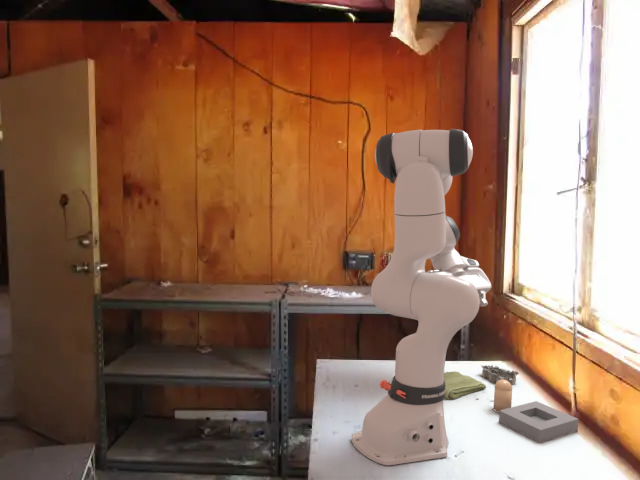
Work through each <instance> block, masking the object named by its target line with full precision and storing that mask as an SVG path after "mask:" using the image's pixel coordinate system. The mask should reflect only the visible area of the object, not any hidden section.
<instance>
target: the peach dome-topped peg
mask: <svg viewBox="0 0 640 480" xmlns="http://www.w3.org/2000/svg"><path fill="white" fill-rule="evenodd" d="M493 394H494V395H493V397H494V398H493V410H494V409H495V410H496V411H495V410H494V411H495V412H497V411H500V410H503V409H507V408H511V407H512V403H513V402H512V399H513V385H512V384H510V382H508V381H507V380H499V381H497V382H495V385H494V393H493Z"/></svg>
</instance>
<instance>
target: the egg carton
mask: <svg viewBox="0 0 640 480" xmlns="http://www.w3.org/2000/svg"><path fill="white" fill-rule="evenodd" d="M480 367H481V368H482V371H481V372H482V375H481V377H482V378H486V379H487V378H488V381H490V382H495V383H496V382H497V381H499V380H507V381H508V382H510V384H511V385H512V386H516V383H517V382H516V380H517V375H519V372H518V371H516V370H509V369H508V370H507V369H504V368H500V367H499V366H497V365H495V366H494V365H486V364H485V365H482V364H480Z"/></svg>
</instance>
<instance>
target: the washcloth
mask: <svg viewBox="0 0 640 480" xmlns="http://www.w3.org/2000/svg"><path fill="white" fill-rule="evenodd" d="M444 381H445V391H446V392H445V398H444V400H454V399H455V400H456V399H458V398H461V397H465V396H467V395H469V394H473V393H475V392H478V391H482V390H483V389H486V388H487V385H486V384H485V383H483V382H482V381H480V380H477V379H475V378H473V377H472V376H469V375H466V374H465V375H464V374H462V373H460V371H455V370H454V371H446V372H444Z"/></svg>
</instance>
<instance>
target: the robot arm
mask: <svg viewBox="0 0 640 480" xmlns="http://www.w3.org/2000/svg"><path fill="white" fill-rule="evenodd" d="M473 155H474V148H473V144H472V141H471V139H470V138H469V134H468V133H467V132H465V131H464V130H462V129H456V128H450V129H448V130H446V129H425V130H423V129H415V130H414V129H413V130H407V131H402V132H398V133H396V132H390V133H386V134H384V135H382V136H380V138H379V139H378V140H377V143H376V146H375V149H374V160H375V161H374V162H375V165H376V167H377V170H378V172H379V173H380V175H382V176H383V177H384V178H385V179H388V180H389V182H390V183H391V184H393V185H394V184H395V186H394V197H393V199H394V200H393V201H394V204H393V206H394V208H393V209H394V211H393V212H394V213H393V214H394V247H393V252H392V255H391V258H390V260H389V262H388V264H387V265H386V266H385V268H384V269H382V270H381V271H380V272H379V273H378V274H377V275H376V276H375V277H374V279H373V281H372V283H371V288H370V296H371V299H372V300H371V301H372V304H373V305H374V306H375V307H376V308H377V309H379V310H381V311H383V312H385V313H387V314H390V315H392V316H395V317H401V318H406V319H411V320H414V321H415V320H416V321H417V322H418V324H417V325H418V326H417V329H416V332H414V333H412V334H409V335H407V336H405V337H403V338H401V340H400V341H399V342H398V343H397V345H396V348H395V362H394V363H395V365H394V367H395V368H394V369H395V370H394V376H393V378H392V380H391V382H390V381H387V380H386V379H382V380H380V382H379V387H380V388H381V389H383V390H384V391H387V394H386V395H385V396H384V397H383V398H382V399H380V400H379V401H378V402H377V404H375V406H373V407H372V408H371V409H370V410H369V411H367V413H366V414H365V415H364V419H363V421H362V427H361V428H362V429H361V430H360V431H356V432H355V433H353V434H351V443H352V445H353V447H355V449H357V451H359V452H360V453H361V454H362V455H363V456H365V457H366V458H368V459H370V460H371V461H373V462H374V463H377V464H380V465H384V466H393V465H400V464H407V463H414V462H415V463H416V462H419V461H420V462H421V461H422V462H423V461H427V460H434V459H441V458H446V457H448V449H447V447H448V446H449V439H448V435H447V430H446V423H445V422H446V421H445V411H444V410H445V409H444V400H445V392H446V391H445V381H444V373H445V367H446V356H447V350H448V348H449V345H450V343H451V341H452V339H453V337H454V336H455V335H456V334H457V332H458V331H460V330H461V329H462V328H465V326H468V325H469V324H470V323H471V322H473V320H475V318H476V316H477V314H478V313H479V310H480V307H482V308H483V307H487V305H488V304H489V303H488V300H487V299H486V297H487V296H486V294H487V293H488V292H489V291H490V290H491V289H492V283H491V281H490V279H489V277H488V276H487V274H486V273H485V272H484V270H483V269H482V268H480V264H479V262H478V260H476V259H472V258H469V257H465V256H462V255H460V253H459V251H457V250H456V249H455V247H456V246H457V245H458V241H459V239H460V237H461V232H460V229H459V227H458V225H457V224H456V222H455V220H454V219H453V218H452V217H450V216H448V215H447V214H446V198H445V196H446V195H447V194H448V192H449V191H450V189H451V188H452V187H451V186H452V183H453V177H455V176H460V175H463V174H464V173H466V172H467V170H469V167H470V165H471V162H472V159H473ZM427 260H430V261H431V265H432V267H433V269H429V270H427V271H426V268H425V267H426V261H427Z"/></svg>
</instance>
